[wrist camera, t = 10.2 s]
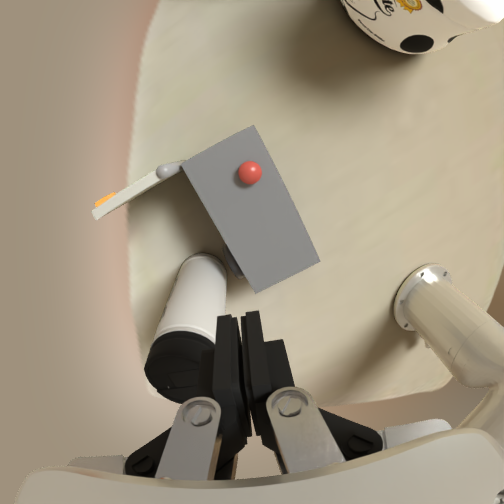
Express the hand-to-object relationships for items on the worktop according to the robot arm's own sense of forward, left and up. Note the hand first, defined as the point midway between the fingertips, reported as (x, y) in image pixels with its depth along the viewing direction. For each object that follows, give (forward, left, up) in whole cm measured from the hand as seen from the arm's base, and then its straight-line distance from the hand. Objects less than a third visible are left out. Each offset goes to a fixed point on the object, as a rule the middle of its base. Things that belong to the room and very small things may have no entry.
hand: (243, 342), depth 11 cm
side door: (+8, +7, -25) cm, 27 cm away
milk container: (+18, -33, -25) cm, 45 cm away
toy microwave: (0, -2, -25) cm, 25 cm away
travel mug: (-6, +8, -25) cm, 27 cm away
